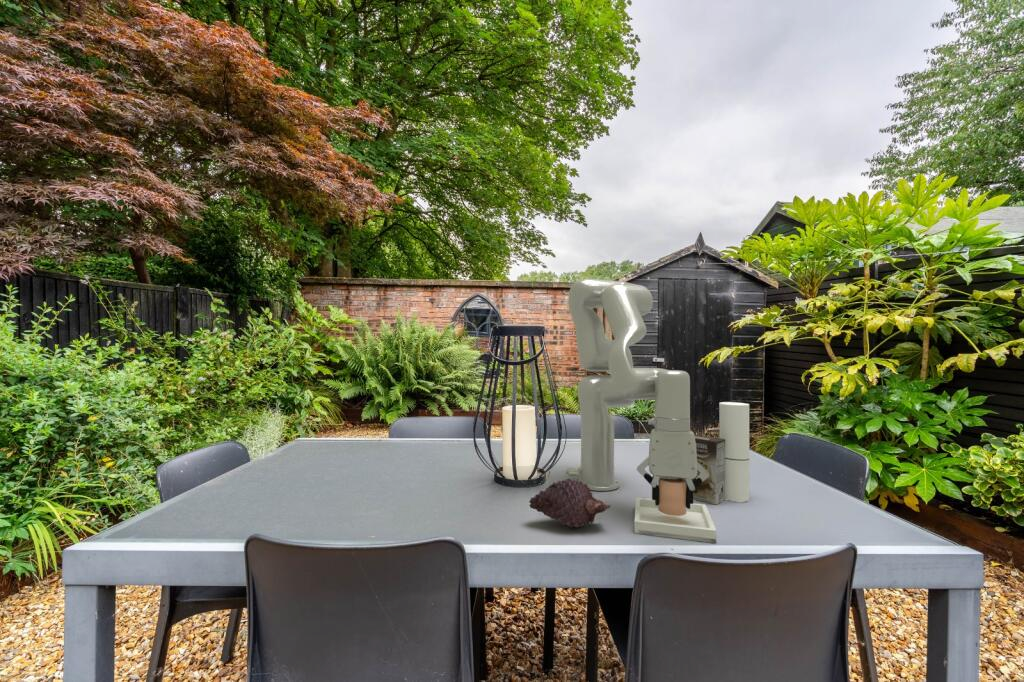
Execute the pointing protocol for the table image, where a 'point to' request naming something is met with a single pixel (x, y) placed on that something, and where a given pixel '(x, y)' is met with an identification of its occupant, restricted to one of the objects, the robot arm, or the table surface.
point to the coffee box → (710, 469)
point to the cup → (672, 496)
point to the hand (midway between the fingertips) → (672, 504)
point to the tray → (674, 522)
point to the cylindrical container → (735, 449)
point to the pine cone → (568, 503)
